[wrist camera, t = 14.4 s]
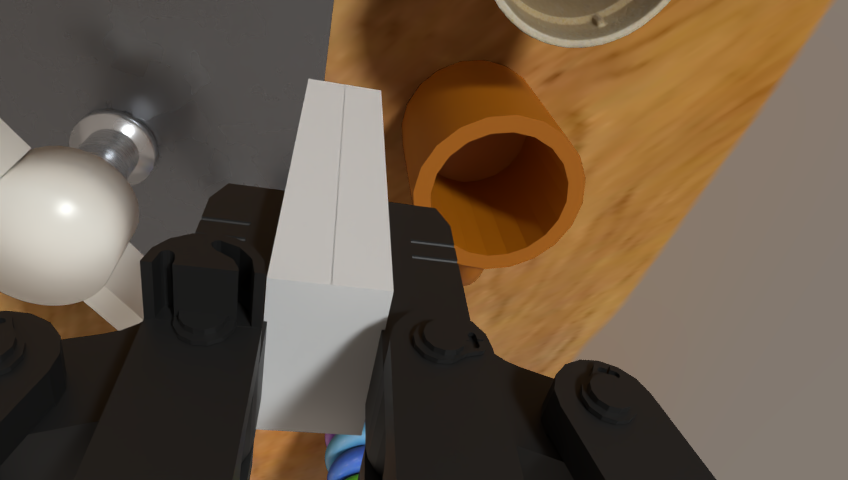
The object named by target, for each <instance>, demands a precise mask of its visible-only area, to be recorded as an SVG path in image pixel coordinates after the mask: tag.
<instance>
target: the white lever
mask: <svg viewBox="0 0 848 480" xmlns="http://www.w3.org/2000/svg"><path fill="white" fill-rule="evenodd" d="M30 149H31V147H30V146H29V145H28V144H27V143H26V142H25V141H23V140H22V139H21V138H20V137H19V136H18V135H17V134H16V133H15V132H14V131H13V130H12V129H11V128H10V127H9V126H8V125H7V124H6V123H5V122H4V121H3V120H2V119H1V118H0V292H2V293H4V294H6V295H8V296H11V297H13V298H16V299H19V300H22V301H25V302H29V303H34V304H39V305H49V306H59V305H69V304H73V303H77V302H80V301H84V302H85V303H86V304H87V305H88V306H90V307H91V308H92V309H93V310H94V311H96V312H97V313H98V314H99V315H100V316H101V317H103V318H104V319H105V320H106V321H107V322H109V323H110V324H111V325H112V326H113V327H114V328H116V329H117V330H118V331H119V330H123V329H125V328H128V327H131V326H133V325H136V324H139V323H140V322H142V321H143V319H144V314H143V300H142V286H141V272H140V260H141V259H142V258H143V257H144V256H143V255H142V254H141V253H140V252H139V251H138V250H137V249H136V248H135V247H134V246H133V245H132V244H131V243H130V242H129V241H130V240H131V238H132V236H133V234H134V232H135V230H136V229H137V226H138V222H139V205H138V200H137V198H136V195H135V193H134V191H133V189H132V187H131V186H130V184H129V183H128V181H127V180H126V179H125V178H124V176H123V175H122V174H121V173H120V172H119V171H118V170H117V169H115V168H114V167H113V166H112V165H110V164H109V163H108V162H106V161H104V160H103V159H101V158H99V157H98V156H95V155H93V154H91V153H89V152H86V151H83V150H80V149H76V148H72V147H66V146H43V147H39V148H35V149H32V150H30Z"/></svg>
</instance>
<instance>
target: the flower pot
mask: <svg viewBox="0 0 848 480" xmlns="http://www.w3.org/2000/svg"><path fill="white" fill-rule="evenodd" d="M669 1H670V0H495V2H496V3H497V5H498V6H499V8H500V9H501V11H502V12H503V13H504V14H505V16H506V17H507V18H508V19H509V20H510V21H511V22H512V23H513V24H514V25H515V26H516V27H518V28H519V29H520V30H521V31H522V32H524V33H526V34H527V35H529V36H531V37H532V38H535V39H537V40H539V41H542V42H544V43H547V44H550V45H556V46H560V47H567V48H578V47H579V48H583V47H592V46H597V45H602V44H606V43H609V42H612V41H615V40H616V39H619V38H622V37H623V36H626V35H628V34H630V33H632V32H633V31H635V30H637V29H638V28H640V27H641V26H643V25H644V24H646V23H647V22H648V21H649V20H651V19H652V18H653V17H654V16H655V15H656V14H658V13H659V12H660V11H661V10H662V9H663V8H664V7H665V6H666V5H667V4H668V3H669Z"/></svg>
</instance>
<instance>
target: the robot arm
mask: <svg viewBox="0 0 848 480" xmlns="http://www.w3.org/2000/svg"><path fill="white" fill-rule="evenodd" d="M140 272H141V286H142V300H143V314H144V319H143V321H142V322H140V323H139V324H136V325H133V326H131V327H128V328H125V329H123V330H119V331H114V332H110V333H105V334H99V335H92V336H85V337H77V338H70V339H63V340H61V337H60V335H59V334H58V332H57V331H56V330H55V328H54V327H53V326H52V324H51V323H50V322H48V321H46V320H44V319H42V318H39V317H37V316H35V315H33V314H30V313H21V312H12V311H0V480H250V474H251V468H252V458H253V444H254V437H255V431H256V429H262V430H278V431H295V432H311V433H327V434H344V435H360V436H362V431H363V427H364V422H365V450H364V454H363V458H362V462H361V467H360V471H359V475H358V480H716V479H715V478H714V476H713V475H712V473H711V472H710V471H709V470H708V468H707V467H706V465H705V464H704V463H703V462H702V460H701V459H700V458H699V456H698V455H697V454H696V452H695V451H694V450H693V448H692V447H691V446H690V445H689V443H688V442H687V441H686V439H685V438H684V437H683V435H682V434H681V433H680V431H679V430H678V429H677V427H676V426H675V425H674V424H673V422H672V421H671V420H670V418H669V417H668V416H667V414H666V413H665V412H664V410H663V409H662V408H661V406H660V405H659V404H658V403H657V401H656V400H655V399H654V397H653V396H652V395H651V393H650V392H649V391H647V390H646V388H645V387H644V386H643V385H642V384H640V382H639V381H638V380H637V379H635V378H634V377H632V376H631V375H629V374H627V373H626V372H624V371H623V370H621V369H619V368H617V367H615V366H612V365H609V364H606V363H603V362H600V361H592V360H578V361H575V362H571V363H568V364H565V365H564V366H563V368H562V369H561V370H560V371H559V372H558V373H557V374H556V376H555V378H554V379H553V378H550V377H547V376H544V375H541V374H538V373H535V372H533V371H530V370H527V369H524V368H521V367H518V366H516V365H514V364H511V363H509V362H507V361H505V360H503V359H502V358H500V357H499V356H497V355H496V354H494V351H493V348H492V346H491V344H490V342H489V340H488V338H487V336H486V334H485V333H484V332H483V331H482V330H480V329H479V328H478V327H477V326H476V325H475V324H474V323H473V322H471V321H470V317H469V312H468V307H467V303H466V298H465V293H464V288H463V284H462V279H461V274H460V269H459V265H458V264H457V255H456V250H455V248H454V241H453V236H452V231H451V227H450V225H449V224H448V222H447V221H446V220H445V219H444V218H443V216H442V215H441V214H440V213H439V212H438V211H437V209H436V208H431V207H423V206H415V205H408V204H400V203H393V202H388V193H387V177H386V161H385V145H384V129H383V113H382V97H381V90H375V89H369V88H363V87H357V86H351V85H345V84H338V83H332V82H326V81H320V80H314V79H308V84H307V88H306V93H305V98H304V103H303V108H302V112H301V117H300V122H299V127H298V131H297V136H296V141H295V146H294V151H293V155H292V160H291V165H290V170H289V174H288V179H287V184H286V189H285V190H277V189H269V188H262V187H254V186H246V185H239V184H231V183H228V184H227V185H226V186H224V187H223V188H221V189H220V190H219V191H217V192H216V193H215V194H213V195H212V196H211V197H209V199H208V202H207V204H206V207H205V209H204V212H203V214H202V218H201V220H200V222H199V224H198V227H197V229H196V231H195V233H192V234H187V235H183V236H178V237H173V238H169V239H167V240H165V241H163V242H161V243H160V244H158V245H156V246H154V247H152V248H151V249H150V250H149V251H148V252H147V253H146V254H145V255H144V257H143V258H142V259H141V260H140Z"/></svg>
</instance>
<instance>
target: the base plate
mask: <svg viewBox="0 0 848 480" xmlns="http://www.w3.org/2000/svg"><path fill="white" fill-rule="evenodd" d="M333 3H334V0H0V118H1V119H2V120H3V121H4V122H5V123H6V124H7V125H8V126H9V127H10V128H11V129H12V130H13V131H14V132H15V133H16V134H17V135H18V136H19V137H20V138H21V139H22V140H23V141H25V142H26V143H27V144H28V145H29V146H30V147H31V149H30V150H32V149H35V148H39V147H43V146H66V147H72V148H76V149H80V150H83V151H86V152H89V153H91V154H93V155H95V156H98V157H99V158H101V159H103V160H104V161H106V162H108V163H109V164H110V165H112V166H113V167H114V168H115V169H117V170H118V171H119V172H120V173H121V174H122V175H123V176H124V178H125V179H126V180H127V181H128V183H129V184H130V186H131V187H132V189H133V191H134V193H135V195H136V198H137V200H138V205H139V222H138V226H137V229H136V230H135V232H134V234H133V236H132V238H131V240H130V241H129V242H130V243H131V244H132V245H133V246H134V247H135V248H136V249H137V250H138V251H139V252H140V253H141V254H142V255H143V256H144V255H145V254H146V253H147V252H148V251H149V250H150V249H151V248H152V247H154V246H156V245H158V244H160V243H161V242H163V241H165V240H167V239H169V238H173V237H178V236H183V235H187V234H192V233H195V231H196V229H197V227H198V224H199V222H200V220H201V218H202V214H203V212H204V209H205V207H206V204H207V202H208V199H209V197H211V196H212V195H213V194H215V193H216V192H217V191H219V190H220V189H221V188H223V187H224V186H226V185H227V184H228V183H231V184H239V185H246V186H254V187H262V188H269V189H277V190H285V189H286V184H287V179H288V174H289V170H290V165H291V160H292V155H293V151H294V146H295V141H296V136H297V131H298V127H299V122H300V117H301V112H302V108H303V103H304V98H305V93H306V88H307V84H308V79H314V80H320V81H324V78H325V70H326V62H327V53H328V45H329V37H330V28H331V20H332V12H333Z"/></svg>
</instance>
